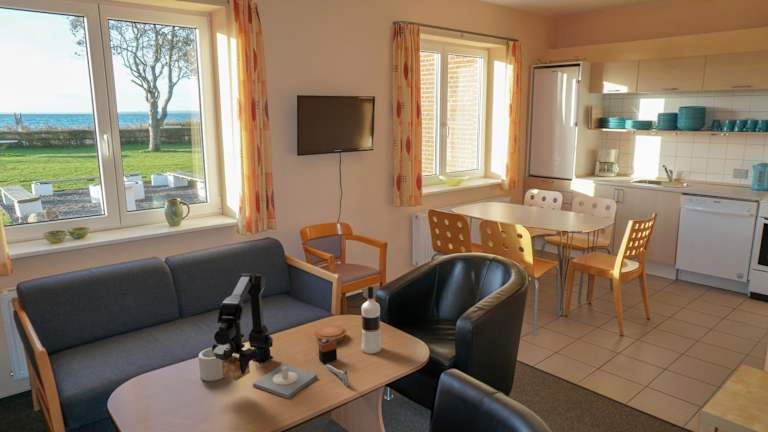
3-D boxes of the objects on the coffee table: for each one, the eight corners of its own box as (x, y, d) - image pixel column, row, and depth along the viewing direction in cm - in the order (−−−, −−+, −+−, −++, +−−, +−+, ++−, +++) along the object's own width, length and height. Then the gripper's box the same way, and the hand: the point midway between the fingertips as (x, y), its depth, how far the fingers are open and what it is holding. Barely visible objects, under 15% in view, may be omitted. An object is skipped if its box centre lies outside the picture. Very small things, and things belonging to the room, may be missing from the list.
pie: (338, 348, 238) (337, 338, 237) (308, 343, 243) (307, 333, 242) (352, 335, 252) (351, 325, 251) (323, 330, 257) (322, 321, 256)
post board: (253, 386, 206) (252, 372, 205) (283, 367, 221) (282, 353, 220) (288, 398, 197) (287, 384, 196) (317, 377, 212) (316, 364, 211)
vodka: (367, 356, 230) (365, 291, 224) (357, 348, 238) (356, 285, 232) (385, 351, 234) (384, 287, 228) (375, 343, 242) (374, 282, 236)
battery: (318, 360, 227) (318, 339, 225) (333, 356, 230) (332, 335, 228) (322, 364, 223) (322, 342, 221) (337, 360, 226) (336, 339, 224)
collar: (222, 376, 198) (221, 361, 196) (236, 368, 203) (235, 354, 202) (236, 381, 194) (235, 366, 193) (249, 372, 200) (248, 358, 199)
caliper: (348, 387, 205) (348, 372, 204) (346, 388, 205) (346, 373, 203) (326, 366, 222) (326, 352, 221) (324, 366, 222) (324, 352, 220)
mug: (232, 374, 215) (230, 352, 213) (208, 384, 208) (206, 361, 206) (215, 364, 225) (214, 342, 222) (192, 373, 217) (190, 351, 215)
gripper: (199, 336, 193) (202, 374, 196) (235, 347, 184) (238, 387, 187) (222, 325, 203) (225, 362, 206) (257, 335, 193) (260, 374, 196)
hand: (236, 371), depth 199 cm, fingers closed on collar, 7 cm apart
